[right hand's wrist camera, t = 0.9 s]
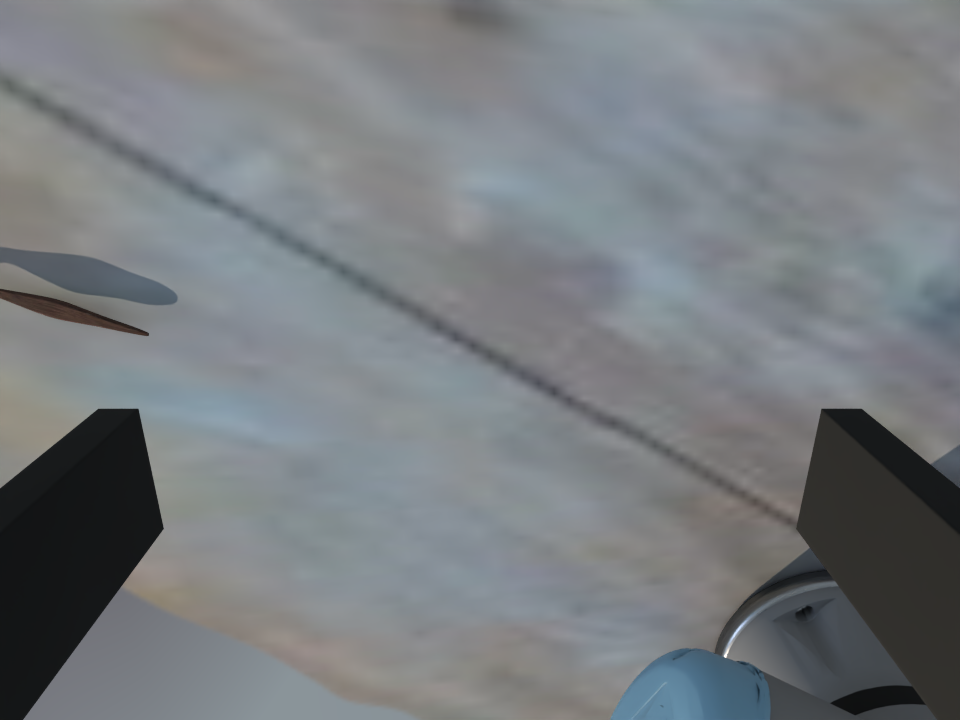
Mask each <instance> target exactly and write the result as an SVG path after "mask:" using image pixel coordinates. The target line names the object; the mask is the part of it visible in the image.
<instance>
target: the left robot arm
mask: <svg viewBox="0 0 960 720" xmlns="http://www.w3.org/2000/svg"><path fill="white" fill-rule="evenodd" d="M610 720H937V719H936V718H935V716H934V715H933V714H932V712H931V711H930V710H929V708H928V707H927V705H926V704H925V703H924V701H923V700H922V699H921V697H920V696H919V695H918V693H917V692H916V691H915V689H914V688H913V686H912V685H911V684H910V682H909V681H908V680H907V678H906V677H905V676H904V674H903V673H902V672H901V670H900V669H899V667H898V666H897V665H896V663H895V662H894V661H893V659H892V658H891V657H890V655H889V654H888V653H887V651H886V650H885V648H884V647H883V646H882V644H881V643H880V642H879V640H878V639H877V638H876V636H875V635H874V634H873V632H872V631H871V629H870V628H869V627H868V625H867V624H866V623H865V621H864V620H863V619H862V617H861V616H860V615H859V613H858V612H857V610H856V609H855V608H854V606H853V605H852V604H851V602H850V601H849V600H848V598H847V597H846V596H845V594H844V593H843V591H842V590H841V589H840V587H839V586H838V585H837V583H836V582H835V581H834V579H833V578H832V577H831V575H830V574H829V572H828V571H820V572H813V573H807V574H802V575H798V576H795V577H792V578H789V579H786V580H783V581H781V582H778V583H776V584H774V585H772V586H770V587H768V588H766V589H764V590H763V591H761V592H759V593H758V594H756V595H755V596H753V597H752V598H751V599H749V600H748V601H747V602H746V603H745V604H743V605H742V606H741V607H740V608H739V609H738V610H737V611H736V612H735V614H734V615H733V616H732V617H731V618H730V620H729V621H728V623H727V624H726V626H725V627H724V629H723V631H722V633H721V635H720V637H719V640H718V642H717V646H716V649H715V653H712V652H709V651H707V650H703V649H688V648H685V649H679V650H675V651H672V652H669V653H667V654H665V655H663V656H661V657H660V658H658V659H656V660H655V661H653V662H652V663H651V664H650V665H648V666H647V667H646V668H645V669H644V670H643V671H642V672H641V673H640V674H639V675H638V676H637V678H636V679H635V680H634V681H633V682H632V684H631V685H630V686H629V688H628V689H627V690H626V692H625V693H624V695H623V696H622V698H621V700H620V701H619V703H618V705H617V707H616V709H615V711H614V712H613V714H612V717H611V719H610Z"/></svg>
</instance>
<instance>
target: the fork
mask: <svg viewBox="0 0 960 720" xmlns="http://www.w3.org/2000/svg"><path fill="white" fill-rule="evenodd" d="M0 298H1V299H4V300H6V301H9V302H11V303H14V304H16V305H19V306H21V307H24V308H26V309H29V310H32V311H34V312H37V313H40V314H43V315H46V316H49V317H52V318H56V319H60V320H65V321H70V322H75V323H81V324H87V325H92V326H97V327H102V328H107V329H112V330H117V331H122V332H127V333H132V334H138V335H144V336H149V333H147V332H145V331H143V330H140V329H138V328H135V327H132V326H130V325H127V324H124V323H121V322H118V321H115V320H113V319H110V318H107V317H104V316H101V315H99V314H96V313H93V312H91V311H88V310H86V309H83V308H80V307H78V306H75V305H72V304H70V303H67V302H64V301H60V300H57V299H53V298H48V297H43V296H38V295H33V294H27V293H21V292H15V291H10V290H4V289H0Z"/></svg>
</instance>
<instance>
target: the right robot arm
mask: <svg viewBox="0 0 960 720" xmlns="http://www.w3.org/2000/svg"><path fill="white" fill-rule="evenodd" d="M163 529H164V528H163V523H162V518H161V514H160V509H159V504H158V499H157V495H156V490H155V485H154V480H153V476H152V471H151V466H150V462H149V457H148V452H147V447H146V443H145V438H144V433H143V428H142V424H141V419H140V414H139V409H98V410H96V411H95V412H94V413H93V414H92V415H90V416H89V417H88V418H87V419H85V420H84V421H83V422H82V423H80V424H79V425H78V426H77V427H75V428H74V429H73V430H72V431H71V432H69V433H68V434H67V435H66V436H64V437H63V438H62V439H61V440H59V441H58V442H57V443H56V444H54V445H53V446H52V447H51V448H50V449H48V450H47V451H46V452H45V453H43V454H42V455H41V456H40V457H38V458H37V459H36V460H35V461H34V462H32V463H31V464H30V465H29V466H27V467H26V468H25V469H24V470H22V471H21V472H20V473H19V474H17V475H16V476H15V477H14V478H13V479H11V480H10V481H9V482H8V483H6V484H5V485H4V486H3V487H1V488H0V720H23V719H24V718H25V716H26V715H27V714H28V712H29V711H30V709H31V708H32V707H33V705H34V704H35V703H36V701H37V700H38V699H39V697H40V696H41V695H42V693H43V692H44V691H45V689H46V688H47V686H48V685H49V684H50V682H51V681H52V680H53V678H54V677H55V676H56V674H57V673H58V671H59V670H60V669H61V667H62V666H63V665H64V663H65V662H66V661H67V659H68V658H69V657H70V655H71V654H72V653H73V651H74V650H75V648H76V647H77V646H78V644H79V643H80V642H81V640H82V639H83V638H84V636H85V635H86V634H87V632H88V631H89V629H90V628H91V627H92V625H93V624H94V623H95V621H96V620H97V619H98V617H99V616H100V615H101V613H102V612H103V610H104V609H105V608H106V606H107V605H108V604H109V602H110V601H111V600H112V598H113V597H114V596H115V594H116V593H117V591H118V590H119V589H120V587H121V586H122V585H123V583H124V582H125V581H126V579H127V578H128V577H129V575H130V574H131V572H132V571H133V570H134V568H135V567H136V566H137V564H138V563H139V562H140V560H141V559H142V558H143V556H144V555H145V553H146V552H147V551H148V549H149V548H150V547H151V545H152V544H153V543H154V541H155V540H156V539H157V537H158V536H159V534H160V533H161V532H162V530H163ZM796 529H797V530H798V532H799V533H800V534H801V536H802V537H803V539H804V540H805V541H806V543H807V544H808V545H809V547H810V548H811V549H812V551H813V552H814V553H815V555H816V556H817V558H818V559H819V560H820V562H821V563H822V564H823V566H824V567H825V568H826V570H827V571H828V572H829V574H830V575H831V577H832V578H833V579H834V581H835V582H836V583H837V585H838V586H839V587H840V589H841V590H842V591H843V593H844V594H845V596H846V597H847V598H848V600H849V601H850V602H851V604H852V605H853V606H854V608H855V609H856V610H857V612H858V613H859V615H860V616H861V617H862V619H863V620H864V621H865V623H866V624H867V625H868V627H869V628H870V629H871V631H872V632H873V634H874V635H875V636H876V638H877V639H878V640H879V642H880V643H881V644H882V646H883V647H884V648H885V650H886V651H887V653H888V654H889V655H890V657H891V658H892V659H893V661H894V662H895V663H896V665H897V666H898V667H899V669H900V670H901V672H902V673H903V674H904V676H905V677H906V678H907V680H908V681H909V682H910V684H911V685H912V686H913V688H914V689H915V691H916V692H917V693H918V695H919V696H920V697H921V699H922V700H923V701H924V703H925V704H926V705H927V707H928V708H929V710H930V711H931V712H932V714H933V715H934V716H935V718H936V719H937V720H960V488H959V487H957V486H956V485H955V484H954V483H952V482H951V481H950V480H949V479H947V478H946V477H945V476H944V475H943V474H941V473H940V472H939V471H938V470H936V469H935V468H934V467H933V466H931V465H930V464H929V463H928V462H926V461H925V460H924V459H923V458H922V457H920V456H919V455H918V454H917V453H915V452H914V451H913V450H912V449H910V448H909V447H908V446H907V445H906V444H904V443H903V442H902V441H901V440H899V439H898V438H897V437H896V436H894V435H893V434H892V433H891V432H889V431H888V430H887V429H886V428H885V427H883V426H882V425H881V424H880V423H878V422H877V421H876V420H875V419H873V418H872V417H871V416H870V415H868V414H867V413H866V412H865V411H864V410H862V409H821V414H820V419H819V424H818V428H817V433H816V438H815V443H814V447H813V452H812V457H811V462H810V466H809V471H808V476H807V480H806V485H805V490H804V495H803V499H802V504H801V509H800V514H799V518H798V523H797V528H796Z"/></svg>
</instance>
